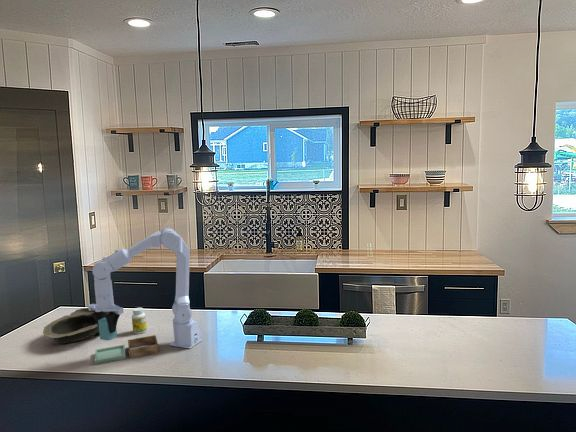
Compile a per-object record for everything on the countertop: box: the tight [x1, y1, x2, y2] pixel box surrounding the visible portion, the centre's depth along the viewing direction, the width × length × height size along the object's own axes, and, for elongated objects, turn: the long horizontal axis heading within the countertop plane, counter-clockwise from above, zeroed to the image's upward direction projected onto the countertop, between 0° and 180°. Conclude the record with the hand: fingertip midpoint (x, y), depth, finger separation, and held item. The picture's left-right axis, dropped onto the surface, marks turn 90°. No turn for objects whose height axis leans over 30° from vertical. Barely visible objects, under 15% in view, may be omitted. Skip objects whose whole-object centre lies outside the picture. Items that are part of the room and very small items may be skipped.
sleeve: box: [127, 334, 160, 359], centre depth 164 cm, size 10×10×3 cm
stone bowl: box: [42, 307, 109, 345], centre depth 179 cm, size 25×25×9 cm
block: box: [98, 318, 118, 341], centre depth 159 cm, size 4×4×7 cm
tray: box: [94, 344, 127, 366], centre depth 160 cm, size 10×10×2 cm
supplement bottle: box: [131, 307, 148, 335], centre depth 182 cm, size 5×5×10 cm
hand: (108, 331), depth 159 cm, fingers closed on block, 4 cm apart
